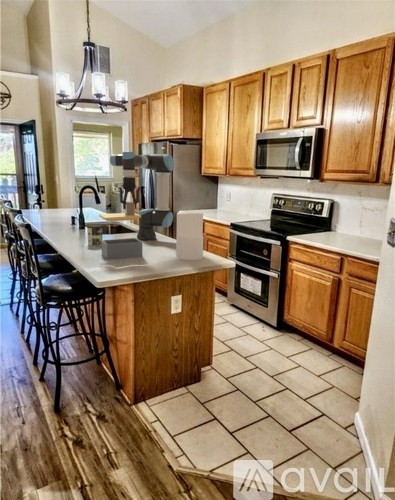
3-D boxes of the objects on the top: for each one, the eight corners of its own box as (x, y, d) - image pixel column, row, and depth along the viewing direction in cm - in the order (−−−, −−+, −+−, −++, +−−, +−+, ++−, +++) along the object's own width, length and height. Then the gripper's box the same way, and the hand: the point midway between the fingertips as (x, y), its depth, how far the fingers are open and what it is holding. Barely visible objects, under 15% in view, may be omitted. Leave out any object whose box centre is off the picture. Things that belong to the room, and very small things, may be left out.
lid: (133, 216, 235) (133, 200, 233) (141, 219, 223) (140, 202, 220) (99, 218, 224) (98, 201, 222) (105, 221, 212) (104, 204, 209)
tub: (135, 252, 234) (135, 237, 231) (142, 257, 222) (142, 242, 219) (101, 255, 223) (101, 240, 221) (107, 261, 211) (106, 244, 209)
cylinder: (172, 254, 233) (173, 211, 226) (196, 252, 239) (197, 211, 233) (181, 260, 217) (182, 215, 211) (207, 258, 224) (208, 214, 217)
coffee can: (105, 244, 256) (104, 224, 253) (98, 247, 246) (98, 227, 243) (92, 243, 258) (91, 223, 255) (85, 246, 248) (84, 226, 245)
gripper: (140, 176, 228) (140, 212, 233) (113, 176, 219) (114, 213, 225) (144, 177, 221) (144, 214, 227) (117, 177, 213) (118, 215, 219)
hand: (129, 214), depth 226 cm, fingers closed on lid, 4 cm apart
